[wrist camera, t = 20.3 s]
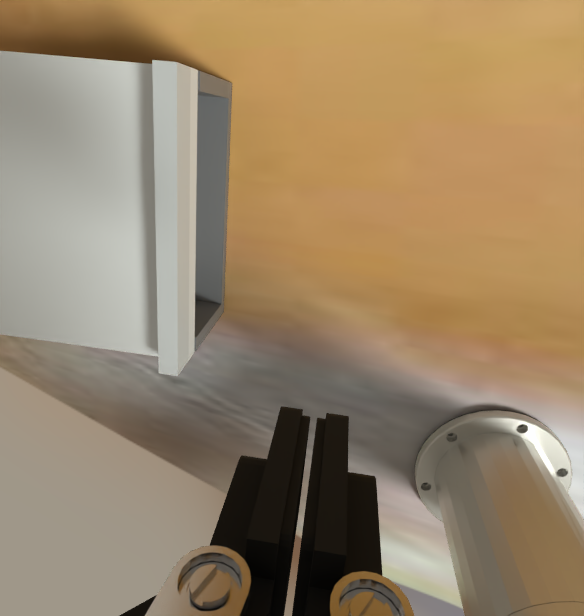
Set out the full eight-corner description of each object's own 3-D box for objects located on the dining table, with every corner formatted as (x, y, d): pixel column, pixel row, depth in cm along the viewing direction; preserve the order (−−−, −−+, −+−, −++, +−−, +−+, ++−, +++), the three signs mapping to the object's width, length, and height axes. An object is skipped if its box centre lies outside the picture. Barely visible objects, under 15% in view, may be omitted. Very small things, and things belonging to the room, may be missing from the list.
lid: (197, 70, 25) (176, 62, 22) (194, 352, 31) (177, 376, 28) (-62, 47, 26) (-116, 36, 23) (-15, 323, 32) (-52, 343, 29)
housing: (232, 83, 32) (200, 70, 25) (223, 311, 38) (196, 350, 31) (26, 64, 33) (-57, 48, 26) (50, 289, 39) (-12, 321, 33)
